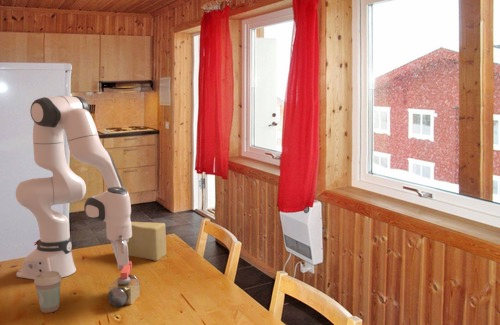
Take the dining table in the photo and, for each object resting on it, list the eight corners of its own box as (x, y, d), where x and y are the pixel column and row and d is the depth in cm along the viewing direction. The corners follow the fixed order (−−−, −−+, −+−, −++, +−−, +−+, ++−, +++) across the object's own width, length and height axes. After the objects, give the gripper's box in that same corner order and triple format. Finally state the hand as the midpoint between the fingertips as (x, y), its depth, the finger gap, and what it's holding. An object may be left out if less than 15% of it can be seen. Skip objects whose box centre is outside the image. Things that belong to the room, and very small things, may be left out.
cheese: (111, 256, 219) (110, 223, 217) (123, 249, 229) (122, 218, 226) (156, 262, 213) (155, 228, 210) (167, 254, 222) (166, 222, 220)
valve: (106, 306, 170) (105, 288, 169) (121, 290, 183) (120, 274, 182) (128, 308, 169) (127, 289, 168) (142, 292, 182) (141, 275, 181)
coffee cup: (41, 303, 172) (38, 270, 171) (66, 302, 173) (64, 269, 171) (32, 315, 164) (29, 280, 162) (59, 314, 165) (56, 279, 163)
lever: (129, 284, 173) (129, 274, 172) (116, 284, 173) (116, 275, 172) (134, 270, 186) (134, 261, 185) (122, 270, 185) (122, 261, 185)
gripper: (132, 239, 171) (133, 278, 173) (124, 224, 190) (126, 259, 192) (113, 241, 169) (115, 280, 171) (107, 226, 188) (109, 261, 190)
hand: (120, 269), depth 182 cm, fingers closed
